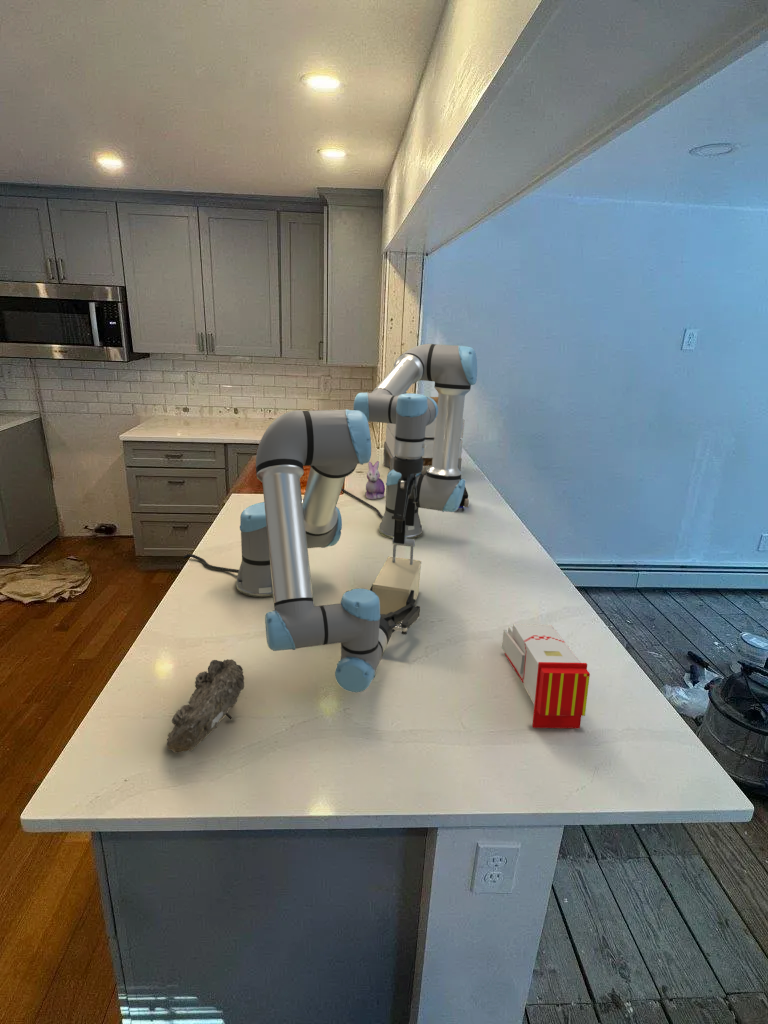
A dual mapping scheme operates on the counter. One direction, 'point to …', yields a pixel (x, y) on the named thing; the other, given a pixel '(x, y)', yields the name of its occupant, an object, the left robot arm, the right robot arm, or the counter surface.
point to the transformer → (428, 442)
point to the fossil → (206, 705)
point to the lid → (398, 570)
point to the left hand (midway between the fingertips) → (392, 592)
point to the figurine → (374, 483)
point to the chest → (395, 596)
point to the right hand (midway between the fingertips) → (404, 533)
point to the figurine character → (464, 500)
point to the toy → (548, 674)
